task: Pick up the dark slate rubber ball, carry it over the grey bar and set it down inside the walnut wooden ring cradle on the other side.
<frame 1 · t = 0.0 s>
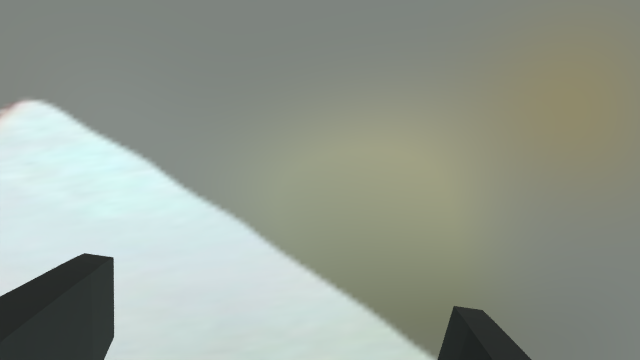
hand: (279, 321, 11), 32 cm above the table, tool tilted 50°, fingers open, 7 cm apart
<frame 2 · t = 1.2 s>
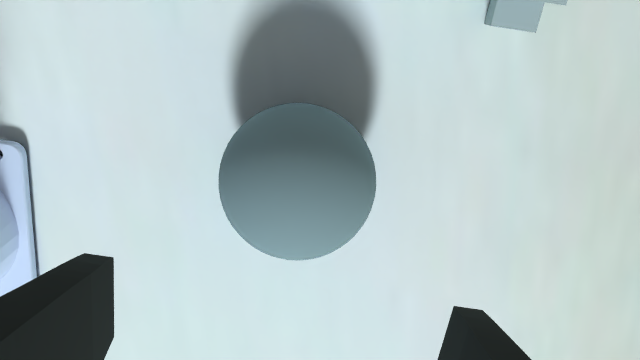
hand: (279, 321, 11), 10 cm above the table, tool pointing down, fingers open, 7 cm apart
ball: (297, 181, 18), point 3 cm above the table
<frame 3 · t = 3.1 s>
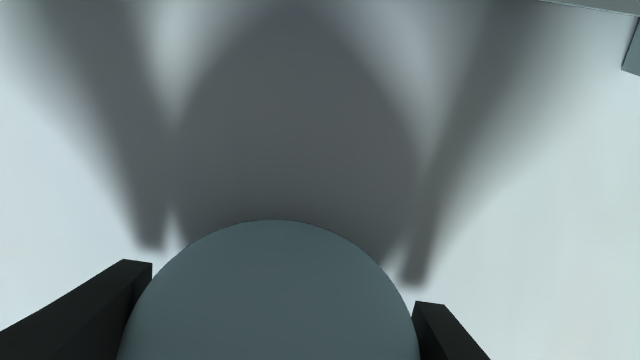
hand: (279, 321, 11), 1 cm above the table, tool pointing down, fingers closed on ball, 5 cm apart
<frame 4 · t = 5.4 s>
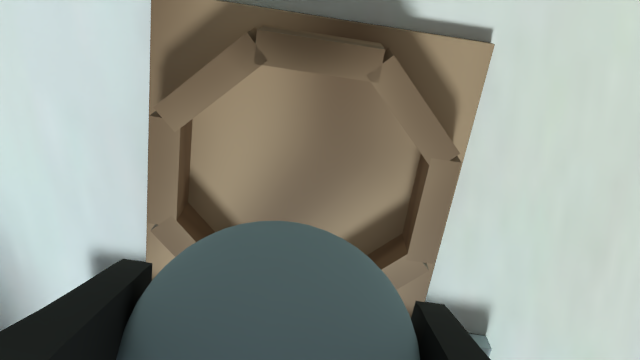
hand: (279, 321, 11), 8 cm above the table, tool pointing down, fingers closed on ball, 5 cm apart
ring cradle: (302, 172, 18), on the table
when the fingers open (3 cm above the table, at t = 7.7 s): ball drops 1 cm, resting on ring cradle.
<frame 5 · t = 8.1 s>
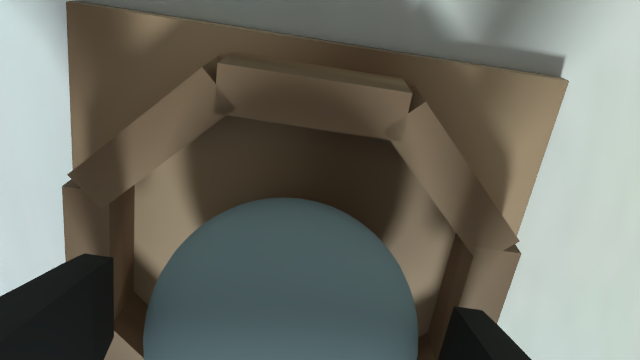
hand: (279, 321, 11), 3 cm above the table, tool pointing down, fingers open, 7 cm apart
ball: (283, 330, 10), point 3 cm above the table, touching ring cradle
ring cradle: (290, 251, 13), on the table
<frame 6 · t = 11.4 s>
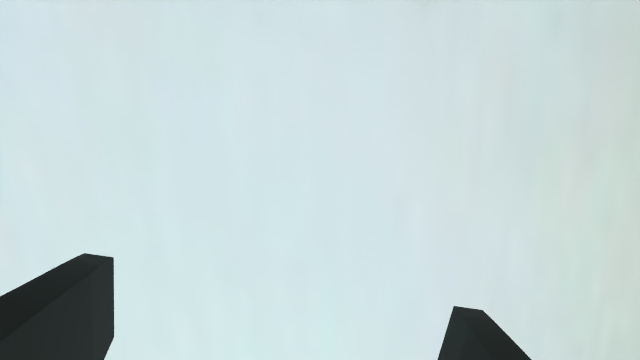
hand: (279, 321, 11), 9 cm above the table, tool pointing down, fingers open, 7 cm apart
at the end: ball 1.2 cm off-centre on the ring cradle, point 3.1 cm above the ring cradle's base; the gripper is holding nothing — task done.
